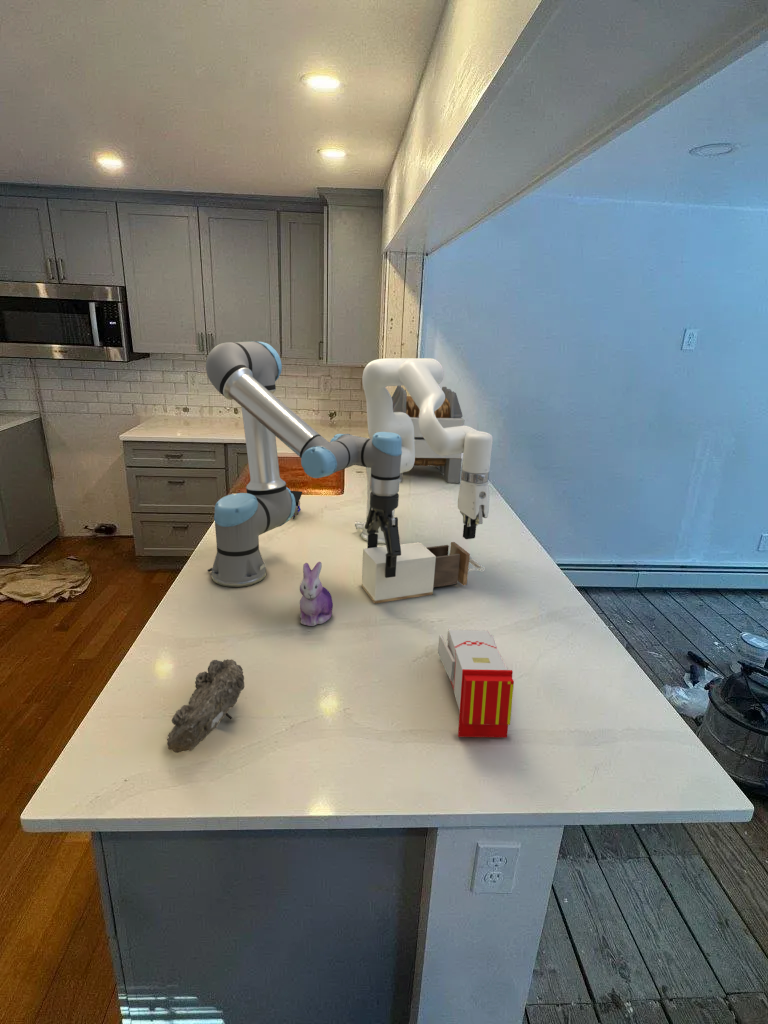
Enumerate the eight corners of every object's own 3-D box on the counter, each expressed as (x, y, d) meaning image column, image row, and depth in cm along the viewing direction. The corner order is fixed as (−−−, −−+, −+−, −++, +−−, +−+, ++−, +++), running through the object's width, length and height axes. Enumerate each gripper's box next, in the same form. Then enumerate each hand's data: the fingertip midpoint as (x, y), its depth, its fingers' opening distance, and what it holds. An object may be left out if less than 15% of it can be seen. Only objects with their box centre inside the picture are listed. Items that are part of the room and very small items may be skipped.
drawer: (467, 569, 173) (470, 539, 169) (483, 582, 165) (487, 551, 161) (402, 578, 165) (404, 547, 162) (415, 592, 157) (418, 560, 154)
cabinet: (417, 578, 168) (419, 541, 164) (432, 594, 158) (435, 556, 155) (361, 586, 161) (362, 548, 157) (374, 603, 152) (376, 564, 148)
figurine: (305, 631, 137) (304, 575, 132) (291, 611, 146) (290, 558, 141) (340, 623, 142) (342, 569, 137) (325, 604, 150) (326, 552, 145)
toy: (488, 613, 130) (523, 677, 101) (484, 667, 133) (517, 744, 104) (435, 612, 130) (455, 676, 101) (432, 666, 133) (451, 743, 103)
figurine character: (298, 524, 207) (303, 507, 221) (298, 506, 204) (302, 489, 217) (280, 524, 207) (285, 506, 220) (279, 505, 204) (285, 488, 217)
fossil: (192, 660, 117) (244, 628, 112) (224, 691, 120) (276, 661, 115) (142, 746, 98) (202, 712, 93) (182, 779, 101) (242, 748, 96)
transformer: (382, 463, 289) (386, 382, 275) (445, 464, 293) (451, 384, 279) (390, 482, 257) (394, 392, 243) (460, 483, 261) (468, 394, 247)
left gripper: (417, 506, 138) (412, 584, 146) (380, 477, 160) (377, 546, 167) (389, 509, 136) (385, 588, 143) (355, 479, 157) (352, 549, 165)
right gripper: (501, 483, 152) (493, 546, 158) (473, 468, 165) (467, 527, 171) (477, 485, 149) (470, 549, 155) (450, 470, 162) (445, 529, 168)
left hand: (380, 566), depth 155 cm, fingers open, 13 cm apart
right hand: (468, 537), depth 163 cm, fingers closed
